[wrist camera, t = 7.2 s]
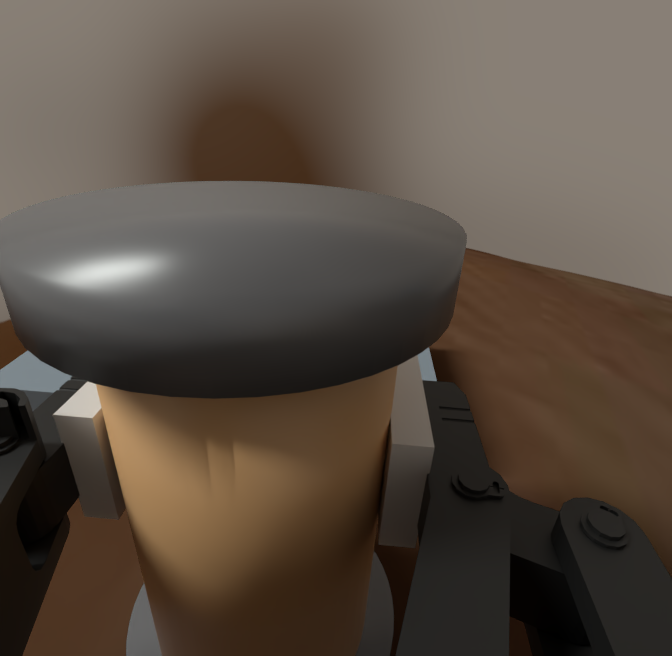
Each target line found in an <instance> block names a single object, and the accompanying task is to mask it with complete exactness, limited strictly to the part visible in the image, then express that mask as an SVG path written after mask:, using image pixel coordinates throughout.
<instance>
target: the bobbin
mask: <svg viewBox="0 0 672 656" xmlns="http://www.w3.org/2000/svg"><path fill="white" fill-rule="evenodd" d="M466 239H467V235H466V233H465V231H464V229H463V228H462V227H461V226H460V225H459V224H458V223H457V222H456V221H455V220H453V219H452V218H450V217H449V216H447V215H445V214H443V213H441V212H439V211H437V210H434V209H432V208H429V207H426V206H424V205H421V204H417V203H414V202H411V201H407V200H403V199H400V198H396V197H391V196H386V195H382V194H377V193H371V192H365V191H360V190H353V189H346V188H338V187H329V186H320V185H309V184H296V183H281V182H256V181H200V182H176V183H160V184H147V185H136V186H127V187H118V188H111V189H103V190H97V191H91V192H85V193H79V194H74V195H70V196H65V197H60V198H56V199H52V200H49V201H44V202H41V203H38V204H35V205H32V206H28V207H26V208H23V209H21V210H18V211H16V212H14V213H11V214H10V215H8V216H6V217H4V218H2V219H1V220H0V287H1V290H2V293H3V296H4V299H5V302H6V305H7V308H8V311H9V314H10V318H11V321H12V324H13V327H14V330H15V333H16V335H17V337H18V338H19V340H20V341H21V343H22V344H23V346H24V347H25V348H26V349H27V350H28V351H29V352H31V353H32V354H33V355H34V356H35V357H37V358H38V359H39V360H40V361H42V362H44V363H46V364H47V365H49V366H51V367H53V368H55V369H57V370H59V371H61V372H63V373H65V374H68V375H71V376H74V377H76V378H79V379H82V380H85V381H88V382H91V383H94V384H96V387H97V391H98V395H99V399H100V404H101V408H102V412H103V416H104V420H105V424H106V428H107V432H108V436H109V440H110V445H111V449H112V453H113V457H114V461H115V465H116V469H117V473H118V477H119V482H120V486H121V490H122V494H123V498H124V502H125V506H126V510H127V514H128V518H129V523H130V527H131V531H132V535H133V539H134V543H135V547H136V551H137V555H138V559H139V564H140V568H141V572H142V576H143V580H144V584H143V586H142V588H141V590H140V592H139V595H138V597H137V600H136V602H135V605H134V608H133V612H132V615H131V619H130V622H129V628H128V635H127V642H126V656H390V652H391V646H392V639H393V632H394V611H393V601H392V595H391V590H390V586H389V582H388V579H387V576H386V574H385V571H384V568H383V566H382V564H381V562H380V560H379V558H378V556H377V554H376V553H375V551H374V544H375V537H376V529H377V521H378V510H379V502H380V494H381V486H382V479H383V471H384V463H385V455H386V448H387V440H388V432H389V424H390V416H391V412H392V405H393V398H394V390H395V382H396V374H397V367H398V365H400V364H402V363H404V362H406V361H407V360H409V359H411V358H413V357H415V356H416V355H418V354H420V353H422V352H423V351H424V350H426V349H427V348H428V347H429V346H431V345H432V344H433V343H435V342H436V341H437V340H438V339H439V338H440V337H441V335H442V334H443V333H444V332H445V331H446V329H447V328H448V326H449V324H450V321H451V319H452V317H453V312H454V307H455V302H456V296H457V291H458V285H459V280H460V275H461V269H462V264H463V258H464V253H465V248H466Z"/></svg>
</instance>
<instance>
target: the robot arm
mask: <svg viewBox="0 0 672 656" xmlns="http://www.w3.org/2000/svg"><path fill="white" fill-rule="evenodd" d="M78 497H79V500H80V504H81V507H82V510H83V513H84V516H86V517H96V518H107V519H117V520H119V519H120V517H121V515H122V514H123V512H124V510H125V509H126V506H125V502H124V498H123V494H122V490H121V486H120V482H119V477H118V473H117V469H116V465H115V461H114V457H113V453H112V449H111V445H110V440H109V436H108V432H107V428H106V424H105V420H104V416H103V412H102V408H101V404H100V399H99V395H98V391H97V387H96V384H94V383H91V382H88V381H85V380H82V379H79V378H76V377H74V376H72V377H71V379H70V380H67V381H66V382H65V383H64V384H63V385H62V386H61V387H60V389H59V390H56V391H55V392H54V393H53V394H52V395H51V396H50V397H48V398H47V399H46V400H45V401H44V402H43V403H42V404H41V405H39V406H38V407H37V408H36V409H35V410H34V411H32V408H31V405H30V402H29V399H28V397H27V395H26V394H25V392H24V391H21V390H18V389H15V388H0V656H22V655H23V652H24V650H25V647H26V644H27V642H28V639H29V636H30V634H31V631H32V628H33V626H34V623H35V621H36V618H37V615H38V613H39V610H40V607H41V605H42V602H43V600H44V597H45V594H46V592H47V589H48V586H49V584H50V581H51V578H52V576H53V573H54V571H55V568H56V565H57V563H58V560H59V557H60V555H61V552H62V550H63V547H64V544H65V542H66V539H67V536H68V534H69V528H70V521H69V518H68V515H67V512H68V510H69V509H70V508H71V506H72V505H73V504H74V502H75V501H76V500H77V498H78ZM417 536H418V537H419V546H420V548H419V552H418V557H417V561H416V566H415V570H414V575H413V579H412V584H411V588H410V593H409V597H408V602H407V606H406V611H405V615H404V620H403V624H402V629H401V633H400V638H399V642H398V647H397V651H396V656H509V616H510V617H513V618H515V619H517V620H520V621H522V622H524V624H525V628H526V631H527V635H528V639H529V643H530V647H531V651H532V655H533V656H672V578H671V577H670V575H669V573H668V572H667V570H666V568H665V567H664V565H663V563H662V562H661V560H660V558H659V556H658V555H657V553H656V551H655V550H654V548H653V546H652V545H651V543H650V541H649V540H648V538H647V536H646V535H645V533H644V532H643V531H642V530H641V529H640V527H639V526H638V525H637V524H636V522H635V521H634V520H632V519H631V518H630V517H628V516H627V515H626V514H625V513H623V512H622V511H621V510H619V509H617V508H615V507H613V506H611V505H609V504H607V503H605V502H603V501H599V500H595V499H591V498H573V499H571V500H569V501H567V502H565V503H564V504H563V506H562V508H561V510H560V512H559V511H556V510H554V509H551V508H548V507H545V506H542V505H539V504H536V503H533V502H530V501H528V500H525V499H523V498H521V497H518V496H517V495H515V494H514V493H512V492H510V491H509V488H508V485H507V484H506V482H505V481H504V480H503V478H502V477H501V476H500V475H499V474H498V473H496V472H495V471H494V470H492V469H491V468H490V467H489V465H488V462H487V459H486V456H485V453H484V450H483V446H482V443H481V440H480V437H479V434H478V431H477V428H476V425H475V423H474V419H473V416H472V413H471V412H470V407H469V404H468V401H467V398H466V395H465V394H464V393H463V392H462V391H461V390H460V389H459V388H458V387H457V386H456V385H455V384H454V383H452V382H440V381H427V380H422V376H421V371H420V366H419V360H418V355H416V356H415V357H413V358H411V359H409V360H407V361H406V362H404V363H402V364H400V365H398V367H397V374H396V382H395V390H394V398H393V405H392V412H391V416H390V424H389V432H388V440H387V448H386V455H385V463H384V471H383V479H382V486H381V494H380V502H379V510H378V539H379V545H387V546H398V547H408V548H415V546H416V541H417Z"/></svg>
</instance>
